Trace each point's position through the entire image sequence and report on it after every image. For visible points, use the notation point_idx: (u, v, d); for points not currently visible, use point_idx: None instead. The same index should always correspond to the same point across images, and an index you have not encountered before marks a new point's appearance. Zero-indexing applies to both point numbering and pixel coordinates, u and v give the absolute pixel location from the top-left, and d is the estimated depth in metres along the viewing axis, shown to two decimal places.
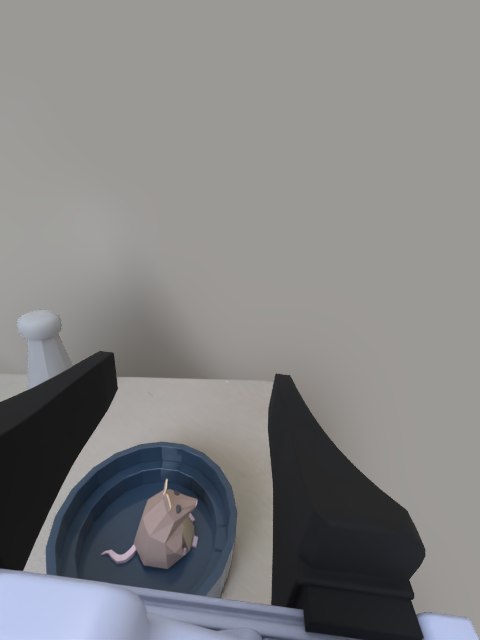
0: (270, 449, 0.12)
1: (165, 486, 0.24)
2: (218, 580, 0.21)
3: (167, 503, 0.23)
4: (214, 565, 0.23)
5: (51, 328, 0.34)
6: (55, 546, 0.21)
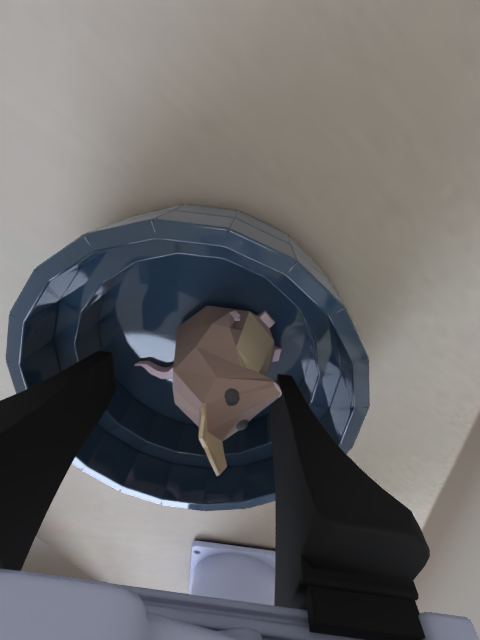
0: (272, 449, 0.12)
1: (202, 444, 0.09)
2: None
3: (216, 465, 0.10)
4: None
5: None
6: None
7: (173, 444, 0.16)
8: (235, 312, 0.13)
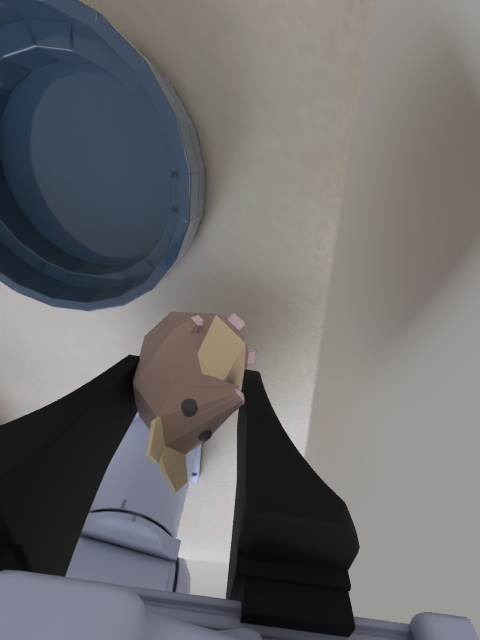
0: (237, 445, 0.12)
1: (153, 460, 0.09)
2: (173, 264, 0.16)
3: None
4: (174, 228, 0.17)
5: None
6: None
7: (71, 268, 0.19)
8: (197, 317, 0.12)
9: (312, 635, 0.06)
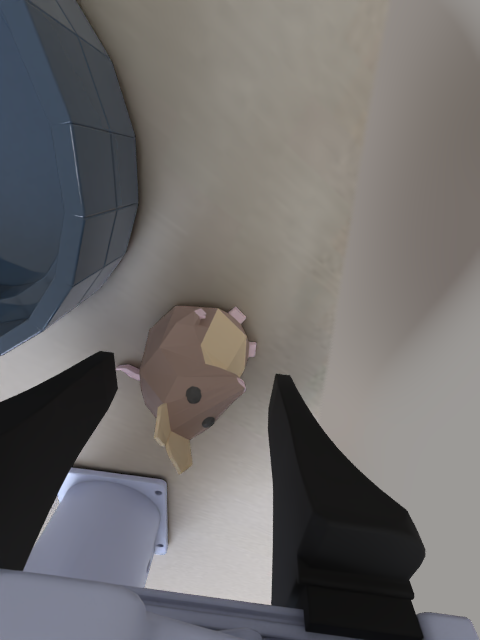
0: (270, 449, 0.12)
1: (160, 443, 0.09)
2: (73, 291, 0.10)
3: (180, 464, 0.10)
4: None
5: None
6: None
7: None
8: (200, 310, 0.13)
9: None
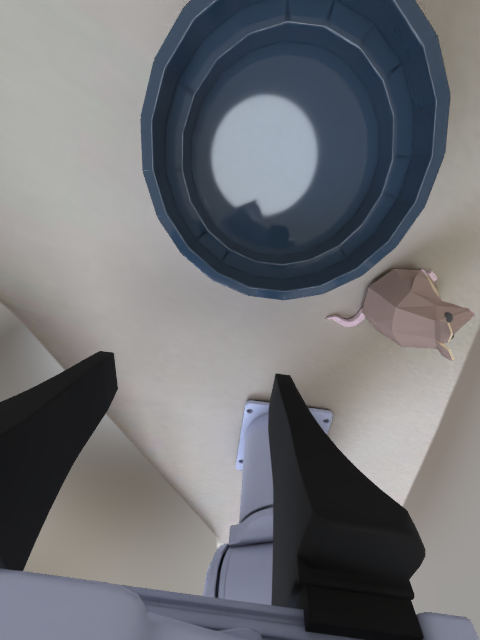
0: (270, 449, 0.12)
1: (447, 340, 0.16)
2: None
3: (447, 357, 0.16)
4: (378, 214, 0.17)
5: None
6: (167, 211, 0.16)
7: (251, 257, 0.19)
8: (422, 270, 0.19)
9: None
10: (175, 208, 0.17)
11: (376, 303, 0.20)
